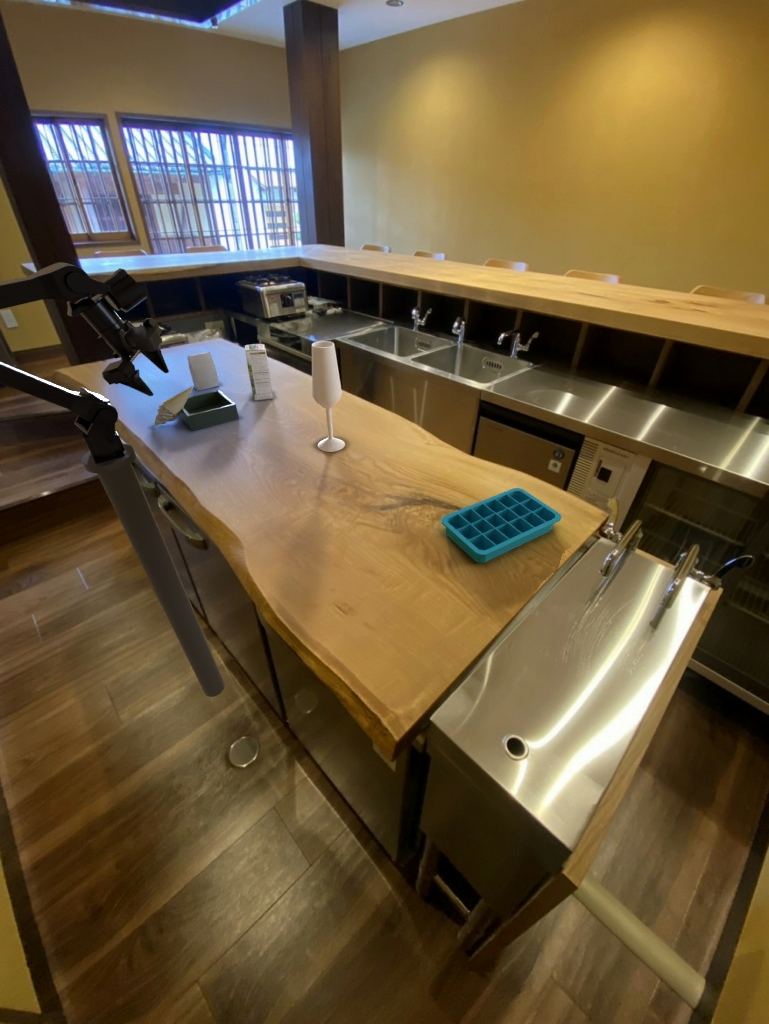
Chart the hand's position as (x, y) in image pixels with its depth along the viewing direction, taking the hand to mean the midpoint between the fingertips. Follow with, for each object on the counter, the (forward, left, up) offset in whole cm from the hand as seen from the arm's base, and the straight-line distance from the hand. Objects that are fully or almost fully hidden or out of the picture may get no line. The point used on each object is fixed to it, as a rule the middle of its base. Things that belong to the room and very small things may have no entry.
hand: (159, 383), depth 103 cm
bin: (+10, +3, -12) cm, 16 cm away
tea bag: (+17, +25, -12) cm, 32 cm away
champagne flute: (+29, -31, -12) cm, 44 cm away
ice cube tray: (+37, -78, -12) cm, 87 cm away
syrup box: (+28, +7, -12) cm, 31 cm away
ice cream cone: (+8, +2, -3) cm, 9 cm away
